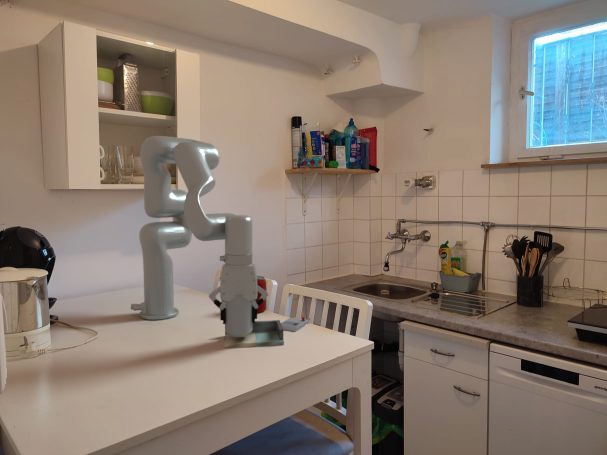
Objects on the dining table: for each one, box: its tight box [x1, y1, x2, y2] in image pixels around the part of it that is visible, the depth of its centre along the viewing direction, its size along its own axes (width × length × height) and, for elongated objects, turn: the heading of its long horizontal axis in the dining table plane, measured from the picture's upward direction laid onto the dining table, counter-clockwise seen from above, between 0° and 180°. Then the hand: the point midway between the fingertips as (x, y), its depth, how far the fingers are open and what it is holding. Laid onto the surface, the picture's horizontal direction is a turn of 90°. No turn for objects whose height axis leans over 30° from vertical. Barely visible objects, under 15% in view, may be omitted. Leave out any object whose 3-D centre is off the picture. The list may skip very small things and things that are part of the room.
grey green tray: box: [224, 319, 285, 349], centre depth 126 cm, size 16×10×4 cm, turn 100°
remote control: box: [281, 316, 311, 333], centre depth 141 cm, size 7×16×3 cm, turn 155°
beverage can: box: [252, 275, 267, 314], centre depth 157 cm, size 7×7×12 cm
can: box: [224, 295, 252, 337], centre depth 125 cm, size 8×8×12 cm
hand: (238, 321), depth 125 cm, fingers closed on can, 7 cm apart
